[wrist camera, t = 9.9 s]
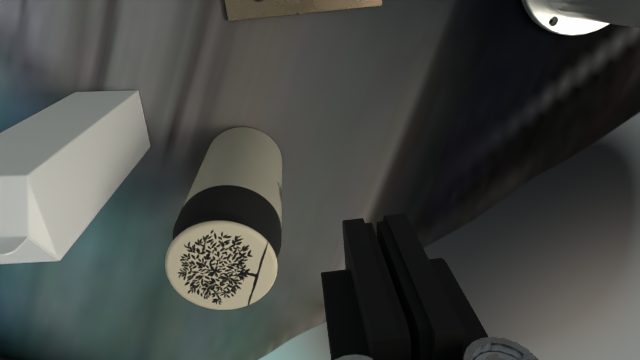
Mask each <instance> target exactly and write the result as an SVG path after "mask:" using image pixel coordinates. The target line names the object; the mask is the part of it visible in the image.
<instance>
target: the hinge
mask: <svg viewBox="0 0 640 360" xmlns="http://www.w3.org/2000/svg"><path fill="white" fill-rule="evenodd" d="M225 4H226V10H227V15H228V21H234V20H243V19H253V18H263V17H273V16H283V15H293V14H302V13H312V12H322V11H332V10H342V9H352V8H361V7H371V6H381V5H382V0H225Z"/></svg>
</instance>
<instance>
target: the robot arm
mask: <svg viewBox="0 0 640 360" xmlns="http://www.w3.org/2000/svg"><path fill="white" fill-rule="evenodd" d="M521 1H522V3H523V5H524V8H525V10H526V12H527V13H528V15H529V16H530V18H531V19H532V20H533V21H534V22H535V23H536V24H537V25H539V26H540V27H541V28H543V29H545V30H547V31H549V32H553V33H557V34H560V35H570V36H574V35H583V34H587V33H590V32H594V31H597V30H599V29H601V28H603V27H605V26H607V25H609V24H617V25H624V26H631V27H639V28H640V0H521ZM549 21H550V22H549ZM343 238H344V251H345V265H346V270H339V271H331V272H323V273H321V277H322V286H323V295H324V304H325V313H326V321H327V330H328V338H329V346H330V354H331V360H538V358H536V356H534V355H533V354H532V353H531V352H530V351H529V350H528V349H526V348H525V347H523V346H521V345H520V344H518V343H516V342H514V341H511V340H508V339H505V338H498V337H488V335H487V333H486V332H485V330H484V328H483V326H482V325H481V323H480V321H479V320H478V318H477V316H476V314H475V312H474V311H473V309H472V307H471V305H470V304H469V302H468V300H467V299H466V297H465V295H464V293H463V291H462V289H461V288H460V286H459V284H458V282H457V281H456V279H455V277H454V275H453V274H452V272H451V270H450V268H449V267H448V265H447V263H446V262H445V260H444V259H442V258H437V259H428V257H427V255H426V254H425V251H424V249H423V247H422V245H421V243H420V242H419V240H418V238H417V236H416V234H415V232H414V230H413V228H412V226H411V224H410V222H409V220H408V218H407V216H406V215H405V214H404V213H403V214H395V215H386V216H384V217H383V221H381V222H377V237H376V234H375V231H374V228H373V225H372V223H364V220H363V218H361V219H352V220H344V221H343Z"/></svg>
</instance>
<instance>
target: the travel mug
mask: <svg viewBox="0 0 640 360" xmlns="http://www.w3.org/2000/svg"><path fill="white" fill-rule="evenodd" d="M281 223H282V156H281V153H280V150H279V148H278V146H277V145H276V143H275V142H274V141H273V140H272V139H271V138H270V137H269V136H268V135H266V134H265V133H263V132H261V131H259V130H256V129H253V128H248V127H237V128H232V129H229V130H226V131H224V132H223V133H221V134H220V135H218V136H217V137H216V138H215V139H214V140H213V142H212V143H211V145H210V147H209V149H208V151H207V153H206V156H205V158H204V160H203V162H202V165H201V167H200V169H199V171H198V174H197V176H196V178H195V180H194V183H193V185H192V187H191V189H190V192H189V194H188V196H187V198H186V201H185V203H184V205H183V207H182V210H181V212H180V214H179V216H178V219H177V221H176V223H175V226H174V230H173V242H172V243H171V244H170V246H169V248H168V251H167V254H166V258H165V269H166V274H167V277H168V279H169V281H170V283H171V284H172V286H173V287H174V289H175V290H176V291H177V292H178V293H179V294H180V295H181V296H183V297H184V298H185V299H187V300H189V301H190V302H192V303H194V304H197V305H199V306H202V307H205V308H210V309H217V310H230V309H237V308H241V307H244V306H247V305H250V304H252V303H254V302H256V301H257V300H259V299H260V298H262V297H263V296H264V295H265V294H266V293H267V292H268V291H269V290H270V288H271V287H272V285H273V283H274V281H275V279H276V275H277V257H278V254H279V252H280V248H281Z"/></svg>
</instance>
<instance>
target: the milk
mask: <svg viewBox="0 0 640 360" xmlns="http://www.w3.org/2000/svg"><path fill="white" fill-rule="evenodd" d="M149 148H150V141H149V137H148V132H147V127H146V123H145V118H144V114H143V109H142V104H141V100H140V95H139V91H138V90H131V91H93V92H75V93H73V94H71V95H69V96H67V97H65V98H64V99H62V100H60V101H58V102H56V103H54V104H53V105H51V106H49V107H47V108H45V109H43V110H42V111H40V112H38V113H36V114H34V115H32V116H31V117H29V118H27V119H25V120H23V121H21V122H19V123H18V124H16V125H14V126H12V127H10V128H8V129H7V130H5V131H3V132H1V133H0V264H11V263H29V262H48V261H60V260H61V259H62V258H63V256H64V255H65V254H66V253H67V251H68V250H69V249H70V248H71V246H72V245H73V244H74V242H75V241H76V240H77V239H78V237H79V236H80V235H81V234H82V232H83V231H84V230H85V229H86V227H87V226H88V225H89V224H90V222H91V221H92V220H93V219H94V217H95V216H96V215H97V214H98V212H99V211H100V210H101V208H102V207H103V206H104V205H105V203H106V202H107V201H108V200H109V198H110V197H111V196H112V195H113V193H114V192H115V191H116V190H117V188H118V187H119V186H120V185H121V183H122V182H123V181H124V180H125V178H126V177H127V176H128V175H129V173H130V172H131V171H132V169H133V168H134V167H135V166H136V164H137V163H138V162H139V161H140V159H141V158H142V157H143V156H144V154H145V153H146V152H147V151H148V149H149Z"/></svg>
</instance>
